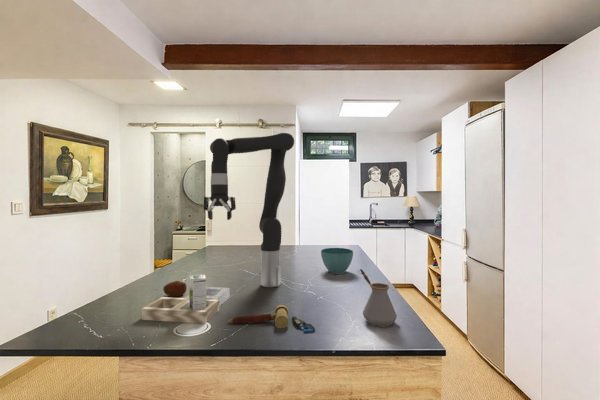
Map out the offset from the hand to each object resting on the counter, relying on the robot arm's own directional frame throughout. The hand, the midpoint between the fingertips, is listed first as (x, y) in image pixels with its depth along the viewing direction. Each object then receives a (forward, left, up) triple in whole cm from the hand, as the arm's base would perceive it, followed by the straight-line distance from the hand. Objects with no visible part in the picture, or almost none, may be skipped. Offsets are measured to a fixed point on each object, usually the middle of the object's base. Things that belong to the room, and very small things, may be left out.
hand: (219, 219), depth 136 cm
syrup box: (-2, +26, -33) cm, 42 cm away
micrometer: (-41, +29, -34) cm, 61 cm away
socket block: (0, +12, -33) cm, 35 cm away
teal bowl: (-52, -42, -33) cm, 75 cm away
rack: (+4, +26, -33) cm, 42 cm away
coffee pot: (-66, +18, -33) cm, 76 cm away
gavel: (-26, +28, -34) cm, 51 cm away
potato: (+18, +7, -33) cm, 39 cm away
